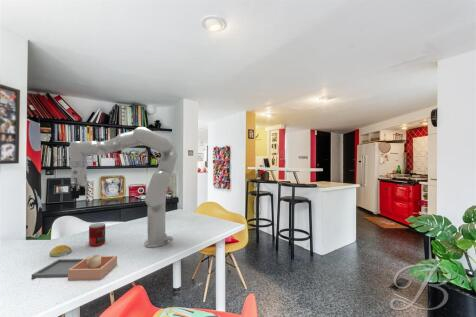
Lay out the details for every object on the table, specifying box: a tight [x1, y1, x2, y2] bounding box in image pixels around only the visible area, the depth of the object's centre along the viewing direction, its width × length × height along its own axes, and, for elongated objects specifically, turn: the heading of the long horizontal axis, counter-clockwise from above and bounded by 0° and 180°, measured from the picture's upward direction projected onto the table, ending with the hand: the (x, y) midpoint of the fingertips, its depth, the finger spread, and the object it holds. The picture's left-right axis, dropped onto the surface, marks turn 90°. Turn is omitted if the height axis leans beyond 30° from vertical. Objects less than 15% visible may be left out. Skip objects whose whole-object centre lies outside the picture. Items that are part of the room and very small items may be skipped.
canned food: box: [88, 222, 106, 248], centre depth 127 cm, size 8×8×11 cm
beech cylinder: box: [87, 254, 102, 269], centre depth 94 cm, size 5×5×6 cm
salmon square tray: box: [67, 255, 118, 281], centre depth 94 cm, size 13×13×4 cm
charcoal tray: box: [31, 258, 85, 280], centre depth 97 cm, size 14×14×2 cm
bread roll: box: [49, 244, 73, 258], centre depth 114 cm, size 8×9×4 cm
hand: (78, 197), depth 119 cm, fingers open, 9 cm apart
